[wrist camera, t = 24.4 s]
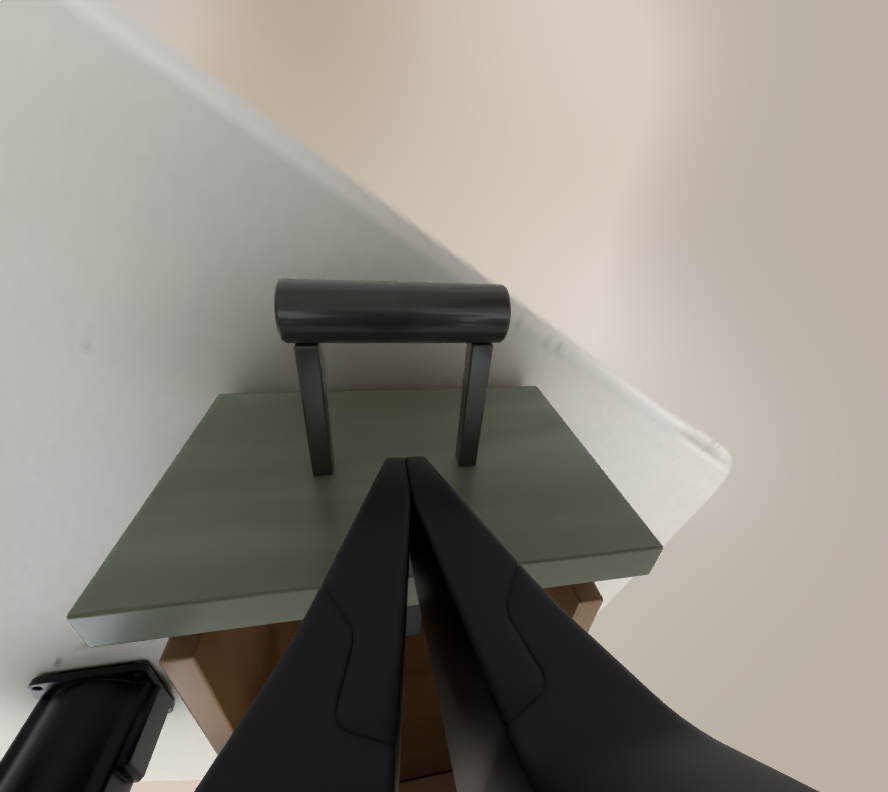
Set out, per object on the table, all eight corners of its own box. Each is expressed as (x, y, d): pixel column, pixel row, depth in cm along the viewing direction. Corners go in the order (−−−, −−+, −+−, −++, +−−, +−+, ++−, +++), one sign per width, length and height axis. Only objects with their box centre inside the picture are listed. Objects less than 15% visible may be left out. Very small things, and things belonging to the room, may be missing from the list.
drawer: (176, 239, 12) (-154, 348, 4) (565, 255, 14) (779, 344, 7) (279, 613, 23) (234, 831, 15) (492, 586, 25) (544, 762, 18)
